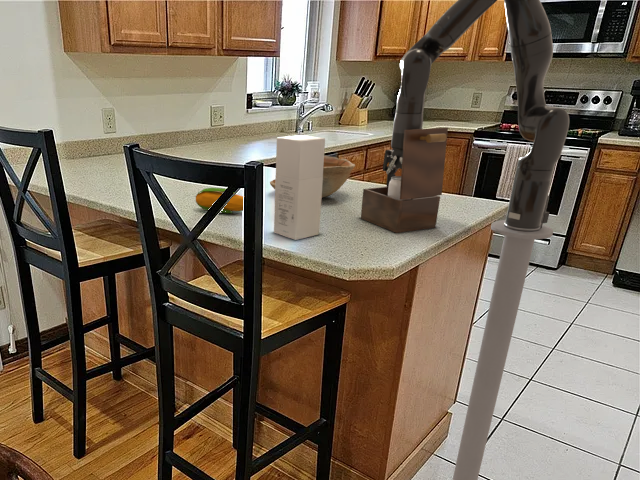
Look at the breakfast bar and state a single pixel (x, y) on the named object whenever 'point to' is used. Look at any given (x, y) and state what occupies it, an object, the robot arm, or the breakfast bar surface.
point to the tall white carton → (298, 186)
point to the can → (395, 187)
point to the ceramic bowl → (332, 174)
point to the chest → (399, 211)
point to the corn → (212, 194)
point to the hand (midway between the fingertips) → (399, 190)
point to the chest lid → (423, 162)
